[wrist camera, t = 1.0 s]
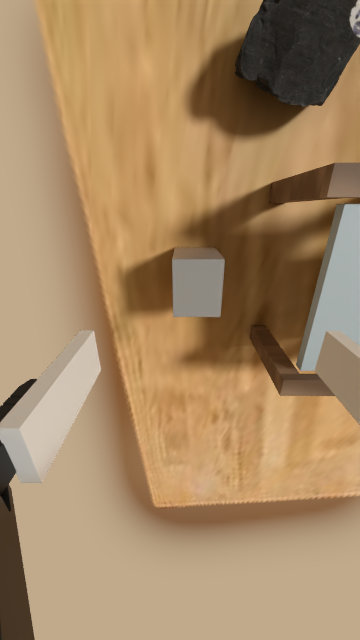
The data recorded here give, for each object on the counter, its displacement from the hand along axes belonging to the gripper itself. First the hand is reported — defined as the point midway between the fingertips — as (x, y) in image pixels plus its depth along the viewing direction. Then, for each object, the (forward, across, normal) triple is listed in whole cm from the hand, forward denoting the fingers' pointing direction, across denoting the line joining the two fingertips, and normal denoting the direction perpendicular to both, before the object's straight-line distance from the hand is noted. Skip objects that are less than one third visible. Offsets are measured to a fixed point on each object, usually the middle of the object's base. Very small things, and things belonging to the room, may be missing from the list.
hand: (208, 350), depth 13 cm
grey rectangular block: (+19, 0, 0) cm, 19 cm away
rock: (+19, +9, +20) cm, 29 cm away
